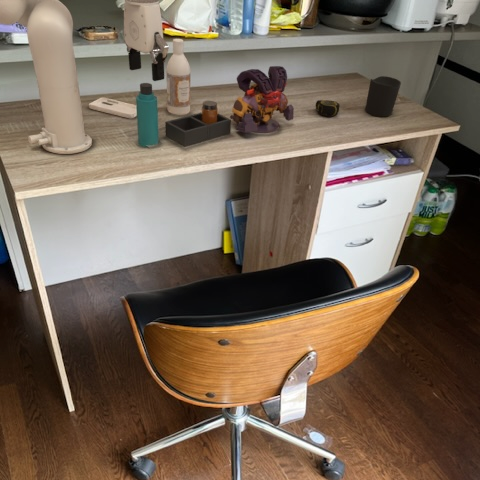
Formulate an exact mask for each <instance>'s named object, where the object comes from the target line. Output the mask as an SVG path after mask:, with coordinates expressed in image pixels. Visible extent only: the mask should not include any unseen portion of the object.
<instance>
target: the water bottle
mask: <svg viewBox="0 0 480 480" xmlns="http://www.w3.org/2000/svg"><path fill="white" fill-rule="evenodd" d="M135 105H136V109H137V116H136V122H137V138H138V145H139V146H140V147H143V148H148V149H149V148H150V147H152V146H155V145H157V144H159V143H160V140H159V139H160V138H159V135H160V134H159V110H158V109H159V108H158V106H159V105H158V97H157V96H156V95H155V93H154V91H153V84H152V83H149V82H141V83H140V84H139V91H138V95H137V96H135Z"/></svg>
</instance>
